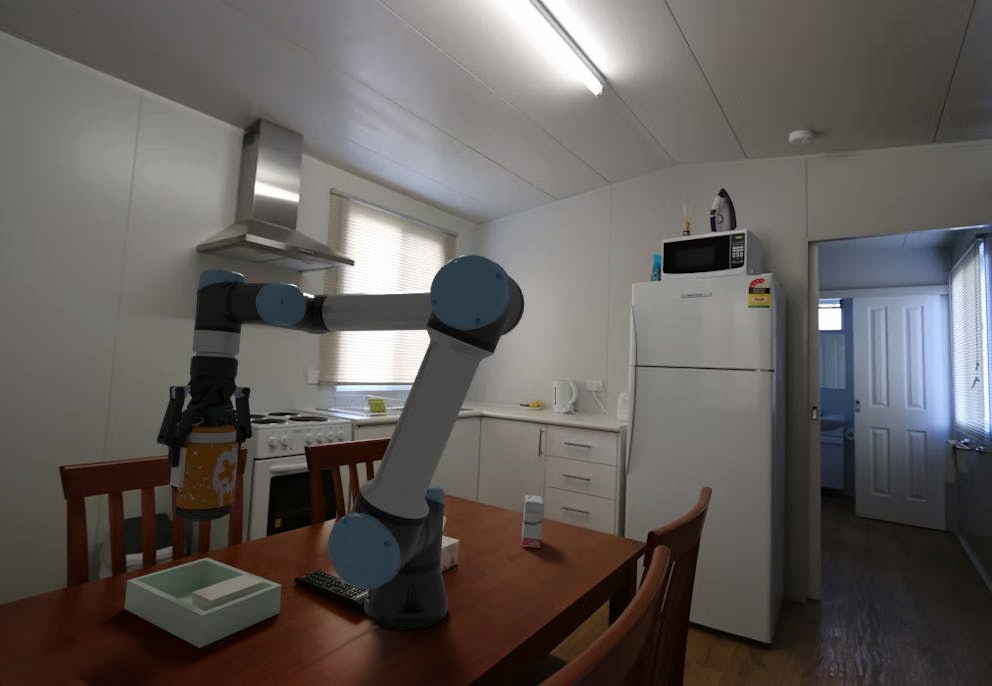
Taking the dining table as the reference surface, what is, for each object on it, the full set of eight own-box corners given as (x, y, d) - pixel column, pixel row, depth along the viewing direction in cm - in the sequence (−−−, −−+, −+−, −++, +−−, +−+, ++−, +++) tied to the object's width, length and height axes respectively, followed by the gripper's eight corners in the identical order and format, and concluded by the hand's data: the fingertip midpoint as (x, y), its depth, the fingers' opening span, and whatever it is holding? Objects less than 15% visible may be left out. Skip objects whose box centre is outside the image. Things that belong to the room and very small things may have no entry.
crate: (279, 617, 88) (281, 585, 89) (199, 653, 76) (202, 615, 77) (204, 586, 99) (207, 557, 99) (123, 613, 87) (127, 580, 87)
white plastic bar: (260, 615, 87) (262, 581, 88) (207, 637, 79) (211, 600, 80) (241, 607, 90) (244, 574, 90) (188, 627, 82) (191, 592, 82)
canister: (207, 526, 85) (217, 405, 86) (151, 519, 87) (162, 401, 88) (243, 512, 93) (253, 403, 95) (192, 506, 96) (201, 400, 97)
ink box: (541, 549, 132) (544, 502, 133) (522, 548, 132) (524, 501, 133) (539, 538, 140) (541, 495, 141) (521, 537, 140) (523, 494, 141)
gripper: (255, 358, 103) (245, 470, 102) (140, 350, 85) (125, 488, 83) (279, 359, 100) (269, 476, 98) (164, 351, 81) (150, 495, 80)
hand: (203, 481), depth 91 cm, fingers closed on canister, 9 cm apart
